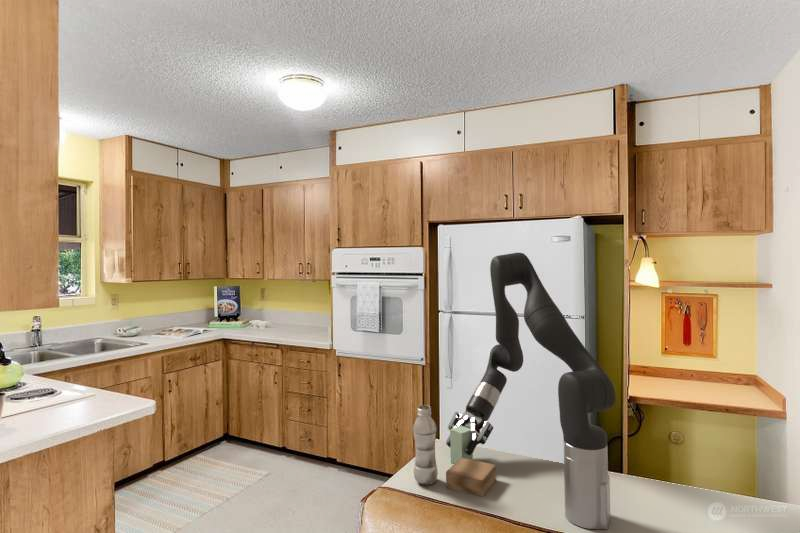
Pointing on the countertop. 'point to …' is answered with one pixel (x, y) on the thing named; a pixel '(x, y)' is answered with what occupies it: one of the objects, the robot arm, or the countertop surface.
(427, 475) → the plastic bottle
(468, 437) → the block
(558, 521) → the countertop surface
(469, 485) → the base
